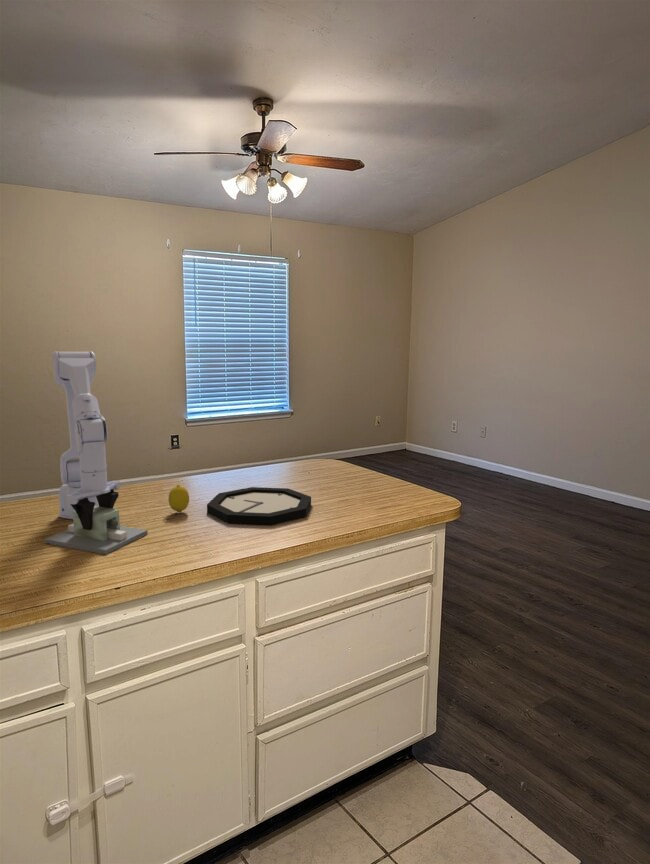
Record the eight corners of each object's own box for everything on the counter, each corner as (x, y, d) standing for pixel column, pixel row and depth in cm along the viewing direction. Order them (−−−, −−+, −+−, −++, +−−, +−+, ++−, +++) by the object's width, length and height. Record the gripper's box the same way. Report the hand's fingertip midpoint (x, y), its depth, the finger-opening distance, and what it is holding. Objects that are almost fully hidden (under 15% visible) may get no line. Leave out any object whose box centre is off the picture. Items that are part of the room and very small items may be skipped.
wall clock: (331, 495, 158) (275, 524, 132) (331, 504, 158) (275, 535, 132) (248, 482, 172) (183, 506, 146) (248, 491, 172) (184, 516, 146)
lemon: (168, 510, 149) (167, 483, 148) (188, 509, 151) (187, 481, 150) (169, 516, 144) (168, 488, 143) (190, 514, 146) (189, 486, 145)
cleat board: (44, 543, 124) (44, 532, 124) (90, 524, 137) (89, 515, 137) (105, 554, 118) (105, 543, 118) (147, 534, 131) (147, 524, 130)
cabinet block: (74, 535, 127) (72, 511, 126) (90, 528, 131) (89, 505, 130) (108, 541, 123) (106, 516, 122) (124, 534, 128) (122, 510, 127)
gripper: (82, 478, 117) (86, 537, 119) (128, 465, 130) (131, 518, 132) (58, 475, 119) (62, 533, 121) (105, 462, 133) (108, 515, 135)
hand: (96, 525), depth 127 cm, fingers closed on cabinet block, 5 cm apart
